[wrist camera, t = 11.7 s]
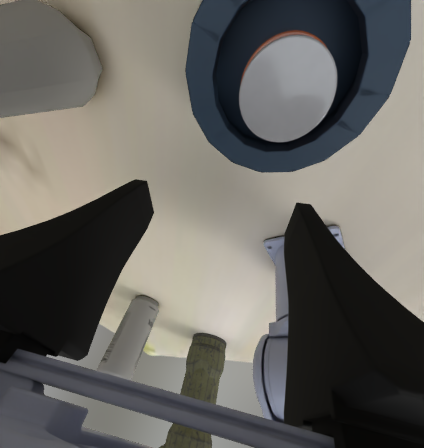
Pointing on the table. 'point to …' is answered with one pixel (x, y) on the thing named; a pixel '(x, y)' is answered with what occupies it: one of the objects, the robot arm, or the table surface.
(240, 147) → the dark blue bowl
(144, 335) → the energy drink can
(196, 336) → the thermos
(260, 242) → the table surface
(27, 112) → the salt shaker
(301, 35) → the shaker
